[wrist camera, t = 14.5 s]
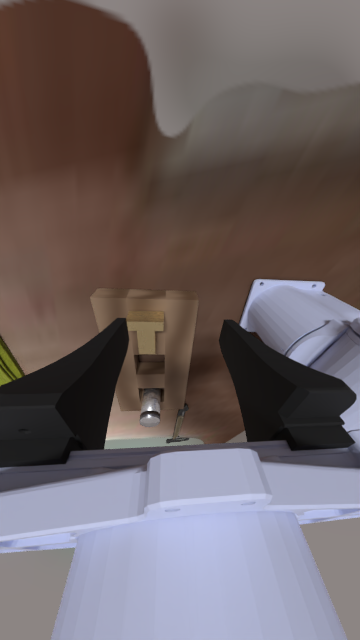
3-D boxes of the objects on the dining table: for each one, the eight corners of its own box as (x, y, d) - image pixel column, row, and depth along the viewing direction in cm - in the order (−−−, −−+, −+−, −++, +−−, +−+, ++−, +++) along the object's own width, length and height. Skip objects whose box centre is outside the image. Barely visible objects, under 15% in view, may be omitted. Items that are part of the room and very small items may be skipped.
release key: (163, 311, 19) (163, 322, 17) (163, 344, 22) (163, 356, 20) (129, 310, 19) (124, 321, 17) (133, 344, 22) (130, 356, 20)
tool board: (195, 291, 21) (198, 300, 19) (182, 397, 34) (183, 409, 32) (98, 288, 20) (89, 297, 18) (123, 398, 33) (120, 411, 31)
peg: (158, 375, 30) (157, 415, 24) (162, 385, 31) (162, 425, 26) (142, 378, 30) (136, 419, 24) (147, 388, 32) (143, 428, 26)
